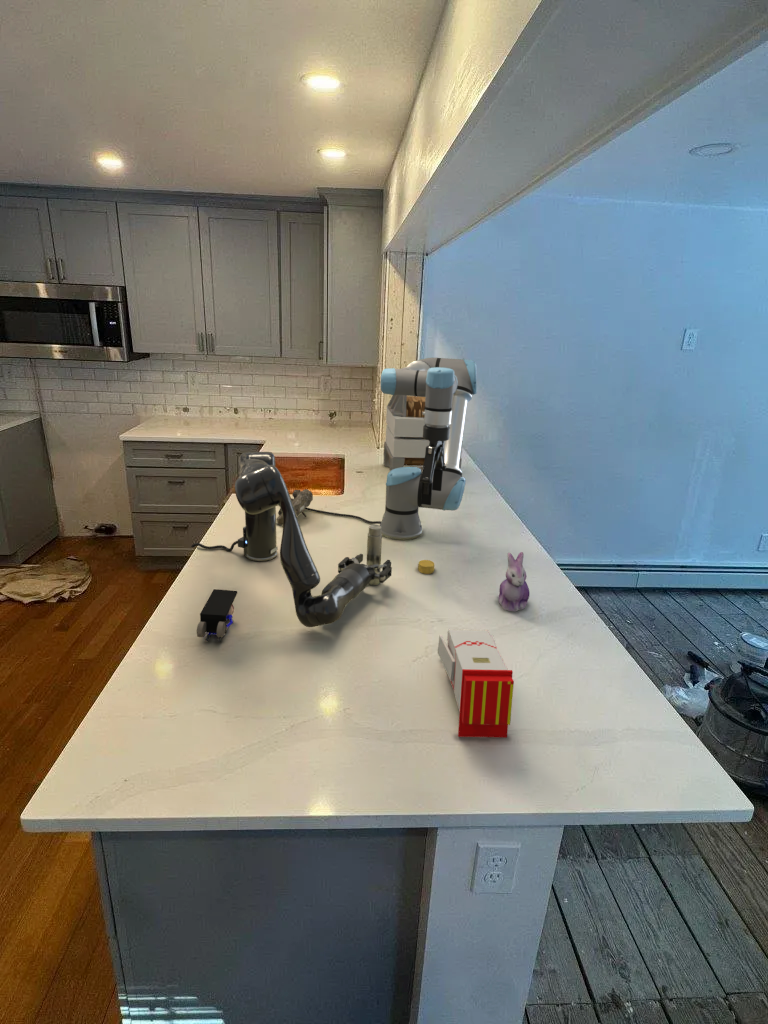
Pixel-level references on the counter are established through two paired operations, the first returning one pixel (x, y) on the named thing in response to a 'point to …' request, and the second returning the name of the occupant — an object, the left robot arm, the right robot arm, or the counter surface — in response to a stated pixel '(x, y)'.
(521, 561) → the figurine
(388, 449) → the white storage crate
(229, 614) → the black wheeled vehicle
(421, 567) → the lid
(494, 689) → the toy
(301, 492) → the fossil
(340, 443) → the counter surface
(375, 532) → the jar
